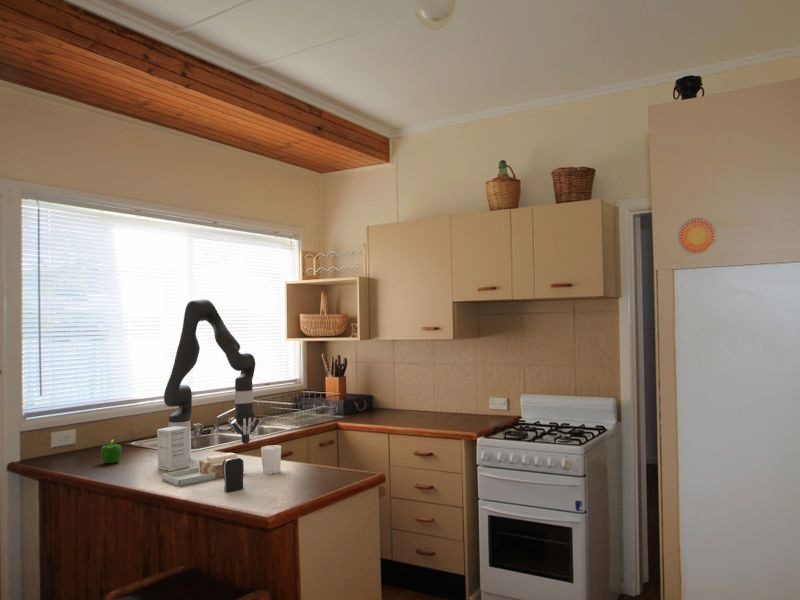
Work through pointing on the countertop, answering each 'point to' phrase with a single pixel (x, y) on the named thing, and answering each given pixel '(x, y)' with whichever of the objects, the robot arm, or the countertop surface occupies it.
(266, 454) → the white cup
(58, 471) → the countertop surface
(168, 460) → the supplement box
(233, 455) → the tile back
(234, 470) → the battery charger
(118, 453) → the bell pepper
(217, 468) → the tan flat block
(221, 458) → the tile front
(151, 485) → the countertop surface
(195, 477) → the tray
